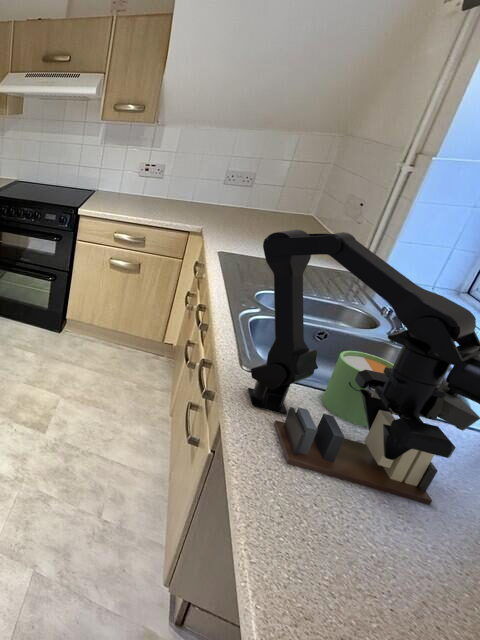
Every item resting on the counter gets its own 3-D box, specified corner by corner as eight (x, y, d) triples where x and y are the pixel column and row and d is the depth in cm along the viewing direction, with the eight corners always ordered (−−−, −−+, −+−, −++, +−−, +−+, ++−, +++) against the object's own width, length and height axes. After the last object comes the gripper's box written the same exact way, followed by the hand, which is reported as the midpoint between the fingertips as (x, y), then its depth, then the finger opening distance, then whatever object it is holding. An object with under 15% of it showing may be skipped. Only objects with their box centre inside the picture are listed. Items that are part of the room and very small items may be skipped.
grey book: (288, 430, 83) (298, 406, 81) (298, 433, 82) (308, 409, 80) (297, 452, 78) (307, 427, 76) (307, 455, 77) (317, 430, 75)
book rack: (273, 424, 86) (282, 400, 84) (398, 457, 79) (411, 432, 77) (287, 463, 77) (297, 437, 75) (429, 505, 69) (445, 478, 67)
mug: (329, 417, 88) (348, 371, 84) (316, 389, 97) (334, 346, 93) (407, 439, 83) (432, 391, 79) (386, 407, 92) (408, 362, 88)
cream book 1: (364, 441, 78) (379, 409, 75) (374, 444, 78) (390, 412, 75) (378, 464, 73) (394, 432, 70) (389, 468, 72) (407, 435, 70)
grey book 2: (313, 437, 82) (323, 413, 79) (323, 440, 81) (333, 415, 79) (323, 459, 76) (334, 434, 74) (333, 462, 76) (345, 437, 74)
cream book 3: (388, 457, 77) (405, 426, 75) (400, 460, 77) (416, 429, 74) (404, 483, 72) (422, 450, 69) (416, 486, 71) (435, 453, 69)
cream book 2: (375, 454, 78) (390, 422, 75) (386, 457, 77) (402, 425, 75) (390, 478, 73) (407, 446, 70) (401, 482, 72) (419, 449, 70)
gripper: (526, 427, 58) (475, 506, 63) (448, 357, 74) (412, 425, 79) (421, 403, 62) (382, 479, 68) (369, 342, 78) (340, 408, 84)
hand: (380, 445), depth 74 cm, fingers closed on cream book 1, 6 cm apart
